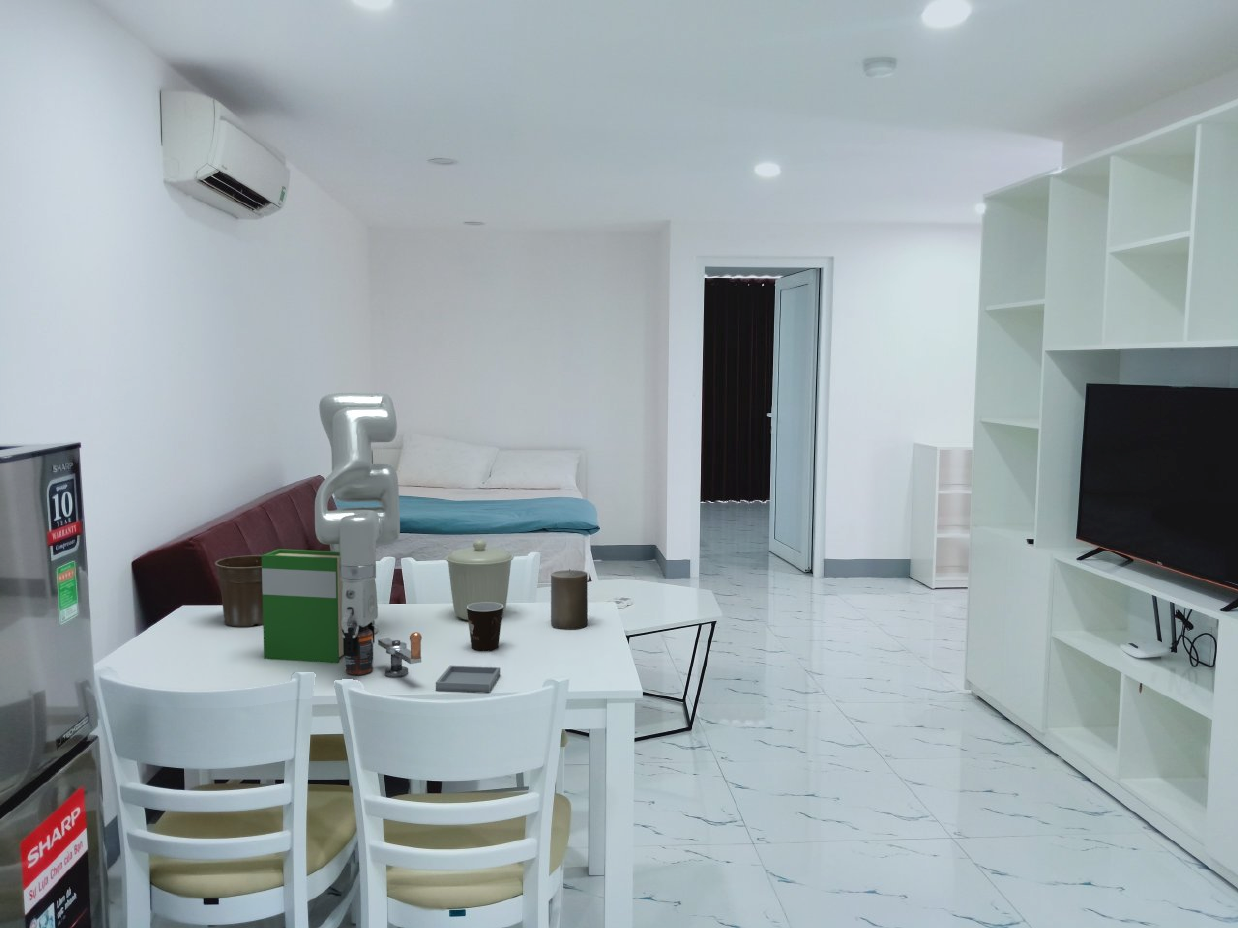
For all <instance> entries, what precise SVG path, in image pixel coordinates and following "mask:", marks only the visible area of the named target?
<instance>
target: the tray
mask: <svg viewBox="0 0 1238 928" xmlns="http://www.w3.org/2000/svg"><path fill="white" fill-rule="evenodd" d="M500 677H501V667H498V666H497V667H496V666H494V667H493V666H475V665H473V666H472V665H471V666H470V665H469V666H468V665H449V666H448V667H447V668H446V670H445V671H444V672H443V673H442V675H440V677H439V678H438V679H437V680H436V681H435V692H451V693H455V692H456V693H457V692H458V693H475V692H485V693H484V694H489V692H490V693H491V691H492V689H493V688H494V686H495V685H496V683H497V682H498V680H499V678H500ZM496 681H497V682H496ZM494 684H495V685H494Z"/></svg>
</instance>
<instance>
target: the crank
mask: <svg viewBox="0 0 1238 928" xmlns="http://www.w3.org/2000/svg"><path fill="white" fill-rule="evenodd" d="M422 639H423V638H422V635H421V633H420V632H417V631H415V632H412V633H411V634H410V635H409V641H410V649H408V648H407V646H408V645H407V643H406V642H403V641H401V640H400V639H399V640H398V639H395V640H394V639H391V638H389V637H385V638H379V639H377V641H378V643H377V644H378V646H379V647H381V648H383V649H384V650H385V653H386V654H387V655H390V656H391V655H396V656H398V657H399V658H401V659H402V661H404V662H407V663H408V664H409V665H415V664H419V663H422V650H421V649H422V648H421V647H422V646H421V645H422Z"/></svg>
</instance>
